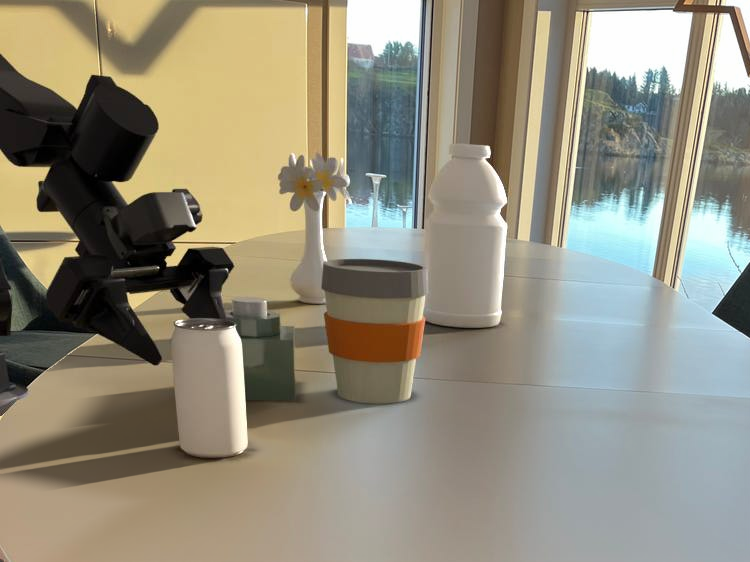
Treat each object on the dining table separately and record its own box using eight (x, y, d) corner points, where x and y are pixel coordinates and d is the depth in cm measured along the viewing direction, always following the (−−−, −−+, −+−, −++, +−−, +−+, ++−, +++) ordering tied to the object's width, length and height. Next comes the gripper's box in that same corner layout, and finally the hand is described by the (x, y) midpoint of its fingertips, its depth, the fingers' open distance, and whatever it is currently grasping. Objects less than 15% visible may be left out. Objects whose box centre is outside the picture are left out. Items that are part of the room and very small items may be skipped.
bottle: (430, 312, 174) (436, 142, 161) (504, 319, 173) (516, 147, 160) (415, 324, 162) (420, 141, 149) (494, 331, 161) (506, 146, 148)
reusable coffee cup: (302, 390, 116) (298, 260, 109) (378, 378, 124) (379, 256, 117) (369, 412, 109) (370, 274, 102) (445, 398, 117) (451, 269, 110)
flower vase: (278, 308, 169) (272, 151, 157) (285, 293, 185) (279, 150, 173) (352, 311, 170) (351, 156, 159) (352, 296, 186) (351, 154, 175)
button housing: (208, 399, 110) (202, 319, 106) (214, 381, 118) (209, 306, 113) (295, 401, 111) (292, 322, 107) (296, 383, 119) (293, 309, 115)
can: (260, 446, 95) (254, 322, 89) (224, 463, 89) (215, 332, 84) (204, 436, 96) (195, 314, 91) (166, 452, 91) (153, 324, 85)
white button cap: (231, 320, 108) (230, 301, 108) (233, 314, 112) (232, 296, 111) (266, 321, 109) (266, 302, 108) (268, 315, 113) (267, 297, 112)
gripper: (46, 151, 77) (156, 310, 77) (212, 156, 91) (305, 290, 92) (1, 246, 84) (103, 391, 84) (163, 237, 98) (249, 361, 99)
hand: (196, 355), depth 89 cm, fingers open, 9 cm apart
